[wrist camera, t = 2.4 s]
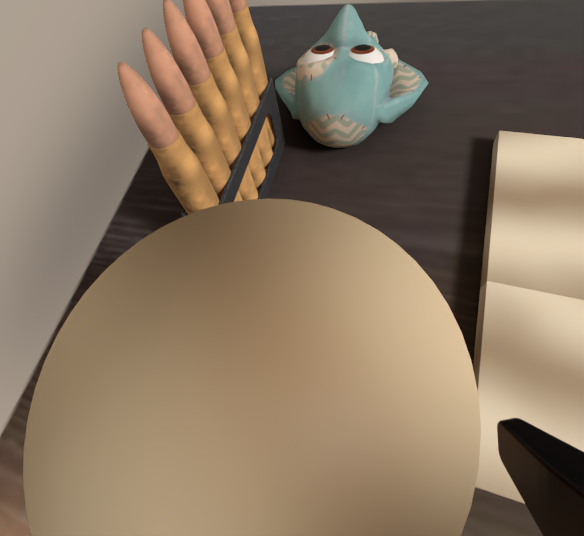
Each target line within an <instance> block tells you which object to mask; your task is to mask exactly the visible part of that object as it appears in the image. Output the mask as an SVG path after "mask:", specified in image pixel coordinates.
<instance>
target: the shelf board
mask: <svg viewBox="0 0 584 536" xmlns="http://www.w3.org/2000/svg"><path fill="white" fill-rule="evenodd" d="M473 371H474V375H475V380H476V385H477V390H478V396H479V409H480V423H481V438H480V455H479V469H478V474H477V479H476V484H475V487H476V488H479V489H482V490H485V491H488V492H491V493H494V494H497V495H500V496H503V497H506V498H509V499H512V500H515V501H518V502H521V503H523V504H525V502H524V501H523V499H522V497H521V495H520V493H519V492H518V490H517V488H516V486H515V484H514V483H513V481H512V479H511V477H510V476H509V474H508V472H507V470H506V468H505V467H504V465H503V463H502V461H501V458H500V455H499V451H498V435H497V424H498V422H499V421H501V420H506V419H511V418H519V419H522V420H524V421H526V422H528V423H530V424H532V425H534V426H535V427H537V428H539V429H541V430H543V431H545V432H547V433H549V434H551V435H553V436H554V437H556V438H558V439H560V440H562V441H564V442H566V443H568V444H570V445H572V446H573V447H575V448H577V449H579V450H581V451H583V452H584V139H578V138H568V137H558V136H548V135H537V134H527V133H517V132H507V131H499V132H498V135H497V137H496V139H495V141H494V143H493V152H492V163H491V174H490V185H489V196H488V207H487V219H486V230H485V241H484V252H483V263H482V274H481V285H480V296H479V307H478V318H477V329H476V341H475V352H474V363H473Z"/></svg>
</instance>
